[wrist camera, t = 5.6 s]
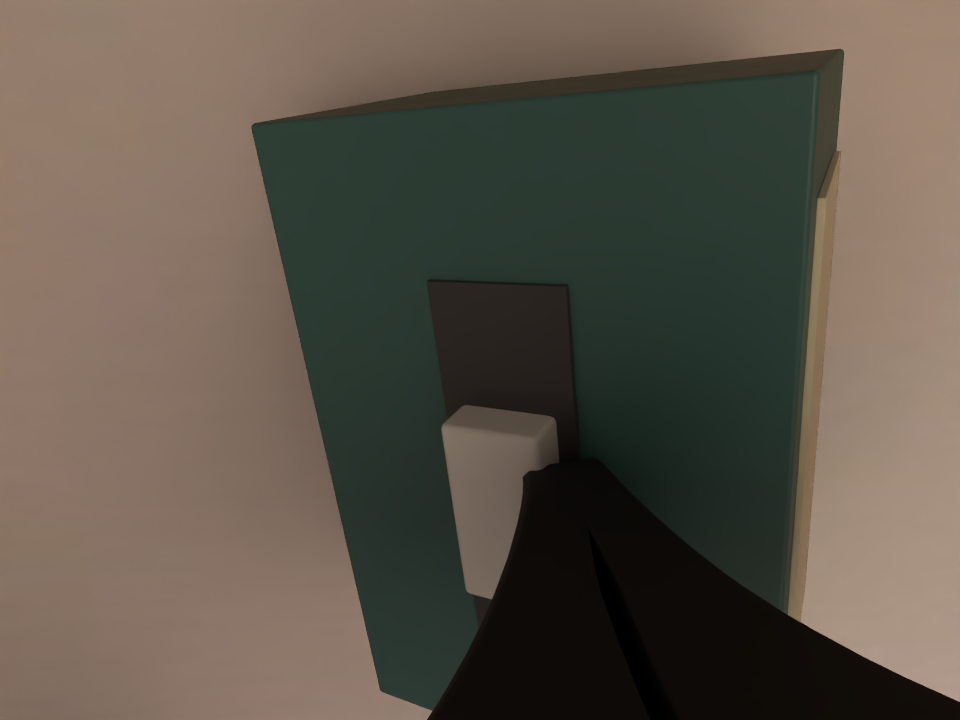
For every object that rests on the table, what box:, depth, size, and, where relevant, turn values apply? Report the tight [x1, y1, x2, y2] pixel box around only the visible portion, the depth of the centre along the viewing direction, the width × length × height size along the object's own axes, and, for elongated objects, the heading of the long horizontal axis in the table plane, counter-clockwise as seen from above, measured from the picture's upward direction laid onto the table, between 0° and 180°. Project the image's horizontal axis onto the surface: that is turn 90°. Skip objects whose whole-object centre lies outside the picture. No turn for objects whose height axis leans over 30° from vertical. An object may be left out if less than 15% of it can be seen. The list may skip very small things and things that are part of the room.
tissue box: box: [252, 49, 844, 711], centre depth 13 cm, size 12×6×8 cm
